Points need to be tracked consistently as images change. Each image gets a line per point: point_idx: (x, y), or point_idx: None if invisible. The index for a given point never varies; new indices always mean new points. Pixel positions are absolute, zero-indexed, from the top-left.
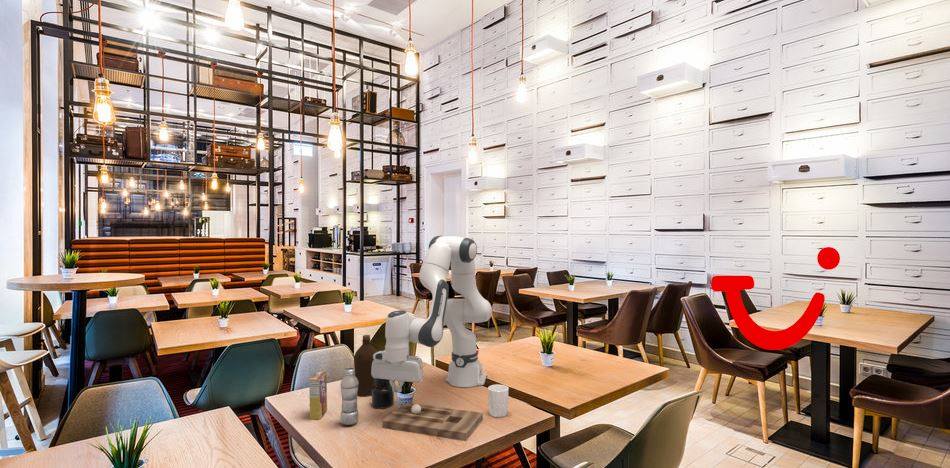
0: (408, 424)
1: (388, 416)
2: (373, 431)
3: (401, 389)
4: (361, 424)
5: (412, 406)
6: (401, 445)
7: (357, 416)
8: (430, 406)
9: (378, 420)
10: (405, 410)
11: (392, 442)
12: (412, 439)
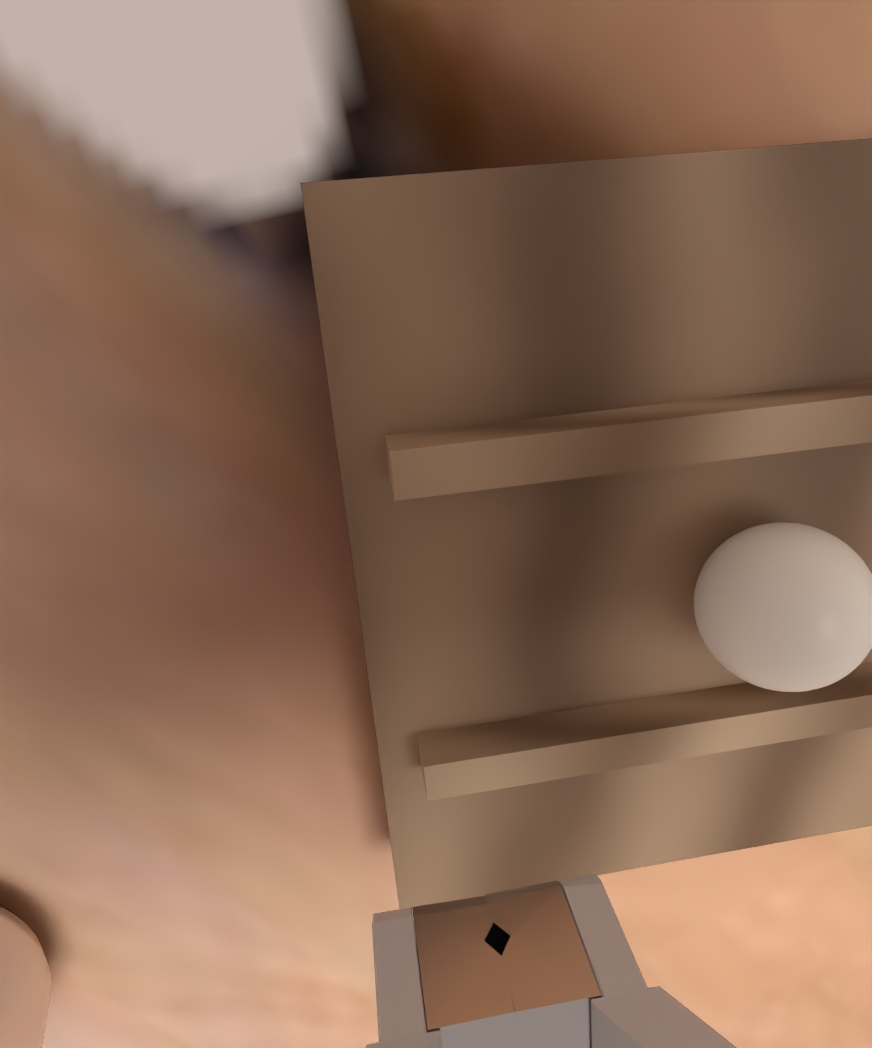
0: (761, 844)
1: (398, 800)
2: (365, 934)
3: (611, 905)
4: (103, 891)
5: (758, 672)
6: (765, 980)
7: (29, 1018)
8: (863, 168)
9: (208, 729)
10: (512, 527)
11: (668, 983)
12: (817, 875)
